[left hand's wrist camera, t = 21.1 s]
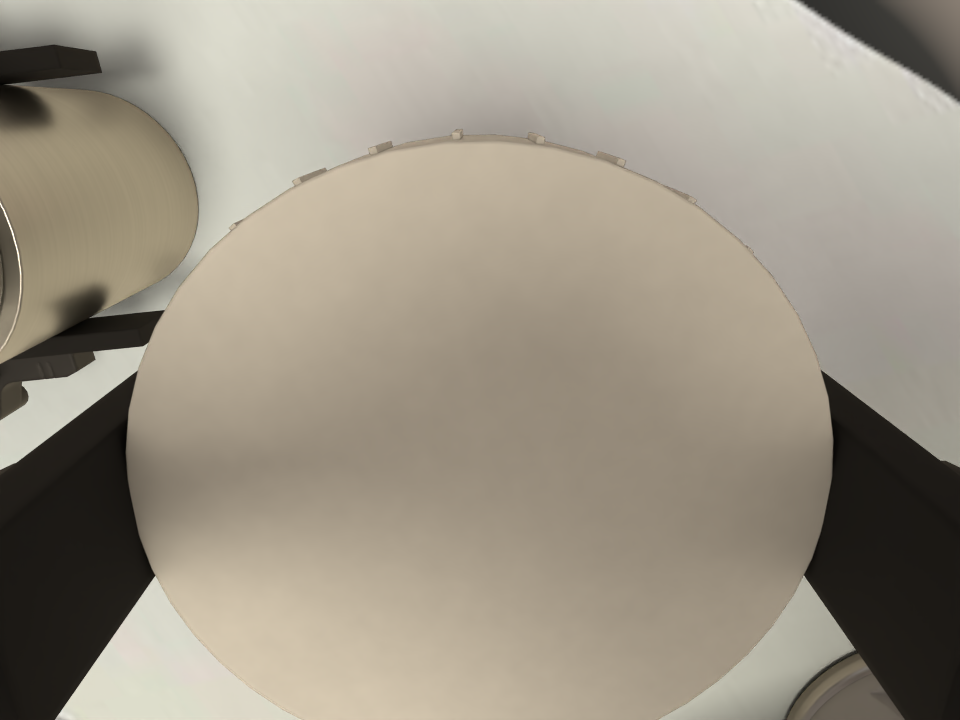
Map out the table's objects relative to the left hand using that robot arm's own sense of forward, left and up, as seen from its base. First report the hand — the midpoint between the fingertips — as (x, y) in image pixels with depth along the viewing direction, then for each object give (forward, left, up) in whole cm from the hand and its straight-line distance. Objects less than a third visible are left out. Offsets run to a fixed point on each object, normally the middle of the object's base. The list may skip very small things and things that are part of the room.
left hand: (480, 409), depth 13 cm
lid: (0, 0, +3) cm, 3 cm away
